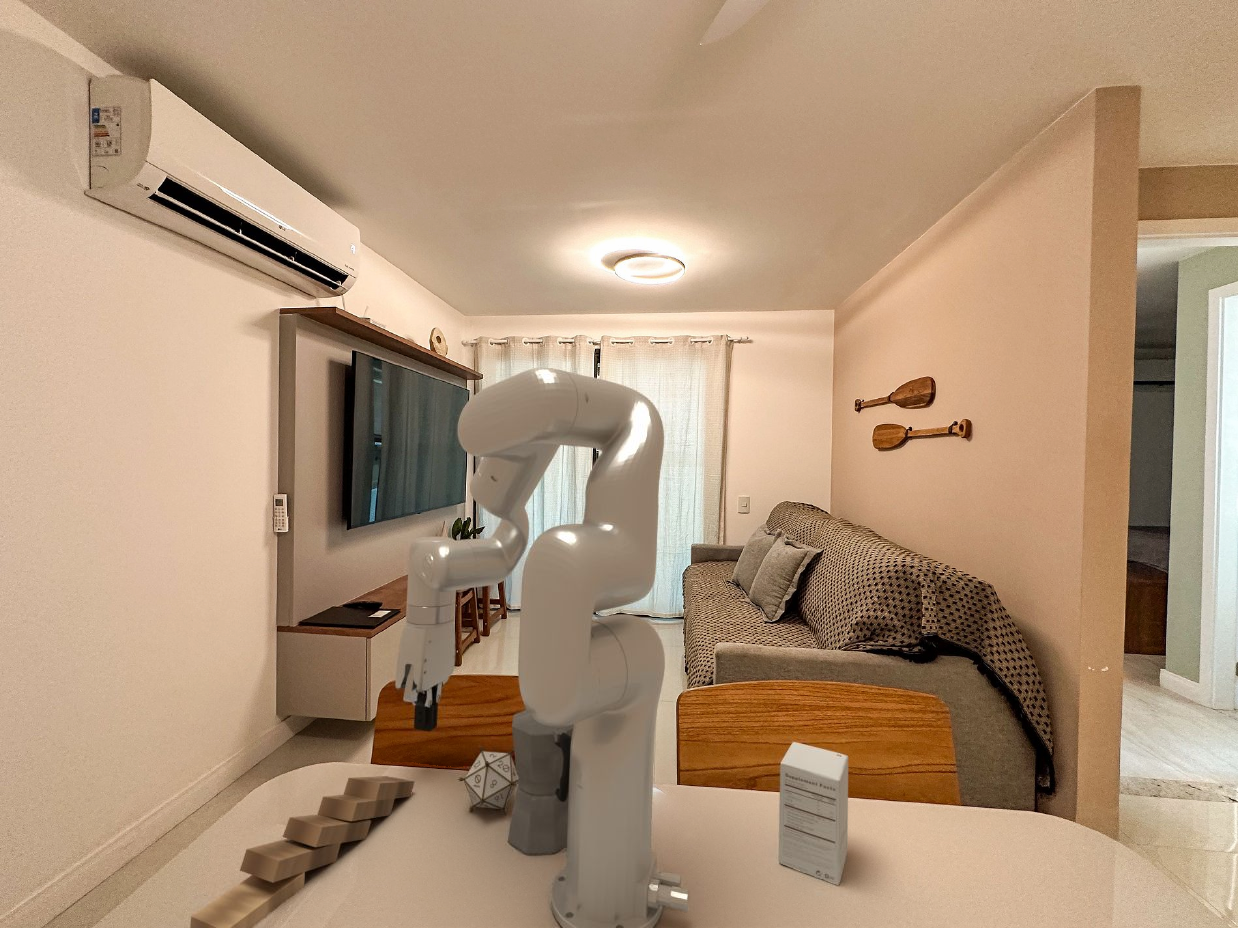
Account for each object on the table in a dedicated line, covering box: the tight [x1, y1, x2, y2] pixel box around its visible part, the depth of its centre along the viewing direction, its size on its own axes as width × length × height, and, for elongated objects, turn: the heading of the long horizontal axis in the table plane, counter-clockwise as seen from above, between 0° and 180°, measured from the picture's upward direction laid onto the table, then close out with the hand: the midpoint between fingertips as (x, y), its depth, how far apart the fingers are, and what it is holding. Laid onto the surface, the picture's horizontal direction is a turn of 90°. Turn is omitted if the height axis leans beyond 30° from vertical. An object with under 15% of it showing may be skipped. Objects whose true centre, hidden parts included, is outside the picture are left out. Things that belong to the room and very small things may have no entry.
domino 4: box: [316, 794, 396, 821], centre depth 74 cm, size 5×2×9 cm
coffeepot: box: [507, 705, 574, 856], centre depth 73 cm, size 15×9×18 cm, turn 29°
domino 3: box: [282, 814, 372, 847], centre depth 69 cm, size 5×2×9 cm
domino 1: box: [189, 872, 306, 928], centre depth 60 cm, size 5×2×9 cm
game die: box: [457, 744, 519, 816], centre depth 80 cm, size 9×8×10 cm
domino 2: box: [239, 838, 342, 883], centre depth 64 cm, size 5×2×9 cm
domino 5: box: [343, 775, 415, 800], centre depth 79 cm, size 5×2×9 cm
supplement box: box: [778, 741, 849, 886], centre depth 71 cm, size 7×7×13 cm
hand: (425, 727), depth 89 cm, fingers closed
